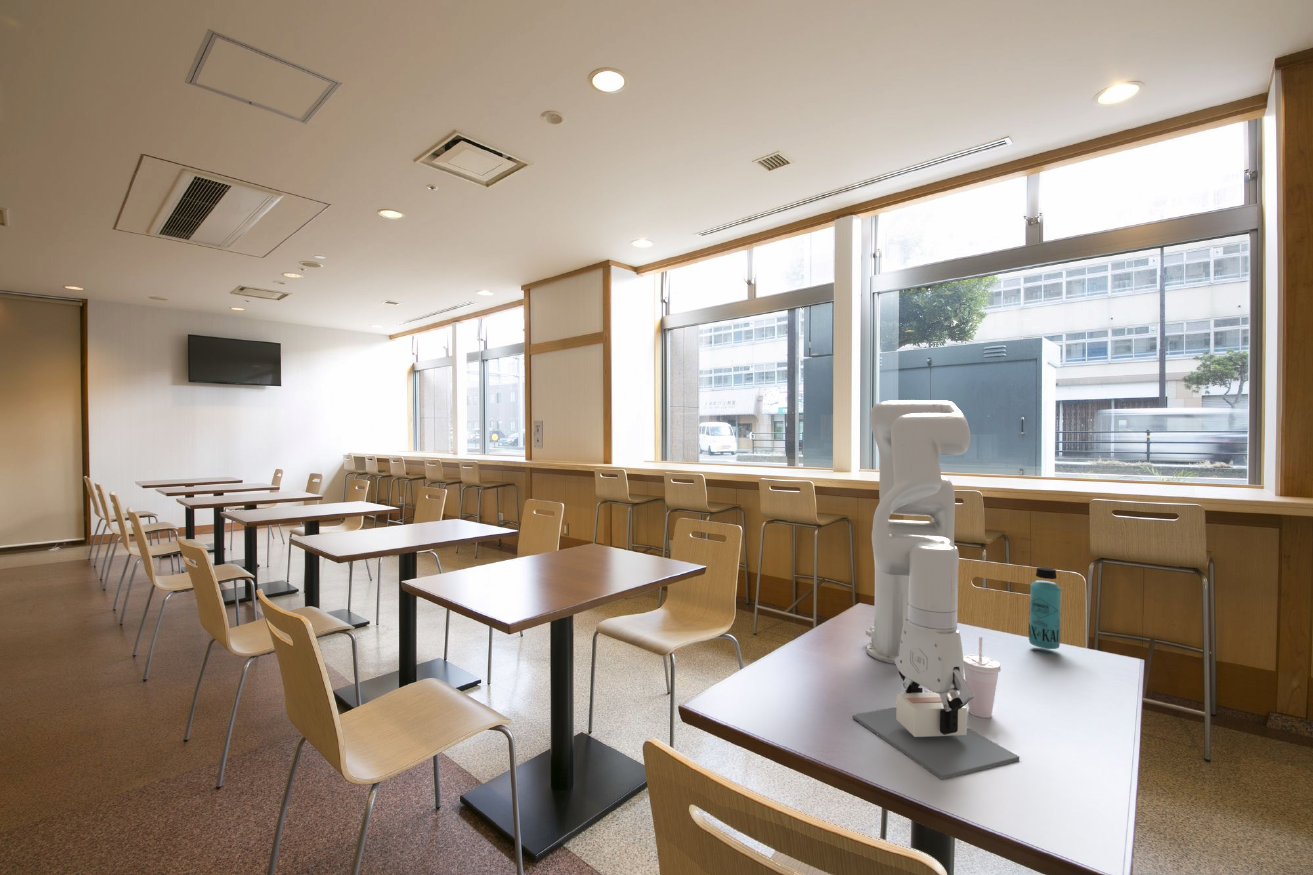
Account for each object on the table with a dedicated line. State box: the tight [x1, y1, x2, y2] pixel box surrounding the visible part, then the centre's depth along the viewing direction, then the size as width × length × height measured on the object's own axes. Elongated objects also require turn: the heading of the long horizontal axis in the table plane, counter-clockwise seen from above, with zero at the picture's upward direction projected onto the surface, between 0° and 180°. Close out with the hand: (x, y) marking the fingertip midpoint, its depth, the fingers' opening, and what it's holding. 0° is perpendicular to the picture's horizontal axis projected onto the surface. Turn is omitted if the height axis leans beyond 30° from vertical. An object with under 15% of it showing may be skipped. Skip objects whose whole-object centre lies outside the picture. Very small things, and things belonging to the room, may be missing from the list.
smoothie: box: [963, 635, 1002, 719], centre depth 109 cm, size 6×6×14 cm
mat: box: [852, 706, 1020, 780], centre depth 99 cm, size 20×16×1 cm
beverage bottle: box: [1027, 566, 1062, 650], centre depth 142 cm, size 6×7×20 cm
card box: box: [895, 691, 968, 737], centre depth 99 cm, size 9×6×5 cm, turn 95°
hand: (930, 720), depth 99 cm, fingers closed on card box, 6 cm apart
